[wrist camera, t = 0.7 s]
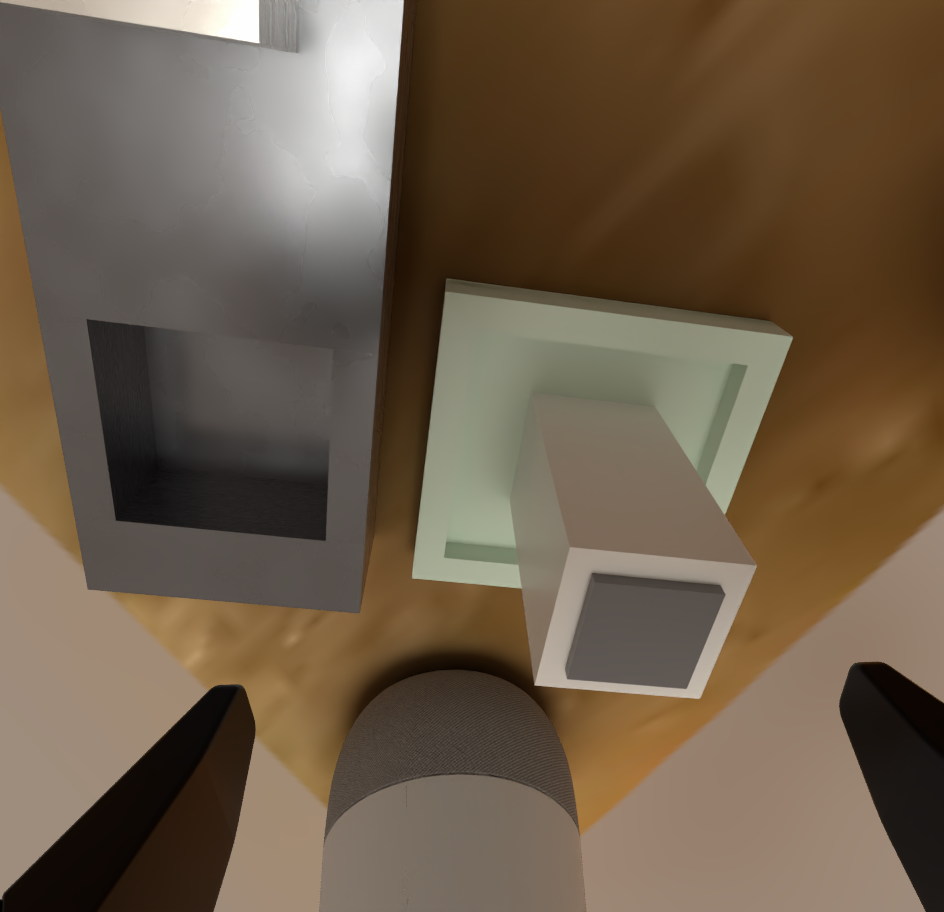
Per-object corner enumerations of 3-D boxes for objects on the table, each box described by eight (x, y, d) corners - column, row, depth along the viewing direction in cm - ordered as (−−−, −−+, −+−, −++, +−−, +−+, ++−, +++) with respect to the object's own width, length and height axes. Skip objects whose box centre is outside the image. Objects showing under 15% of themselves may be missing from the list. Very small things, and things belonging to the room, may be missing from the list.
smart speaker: (448, 606, 25) (441, 1085, 13) (604, 716, 29) (717, 1185, 16) (299, 729, 29) (181, 1209, 16) (455, 816, 32) (455, 1272, 19)
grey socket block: (46, -293, 14) (-322, -642, 7) (434, -217, 14) (416, -473, 8) (143, 514, 23) (23, 675, 17) (373, 536, 24) (343, 700, 17)
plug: (655, 406, 21) (763, 574, 13) (624, 512, 23) (704, 709, 15) (530, 391, 20) (572, 556, 13) (509, 500, 22) (535, 695, 15)
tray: (771, 321, 20) (793, 336, 19) (678, 577, 25) (690, 604, 24) (446, 278, 19) (445, 291, 18) (414, 551, 24) (411, 578, 23)
